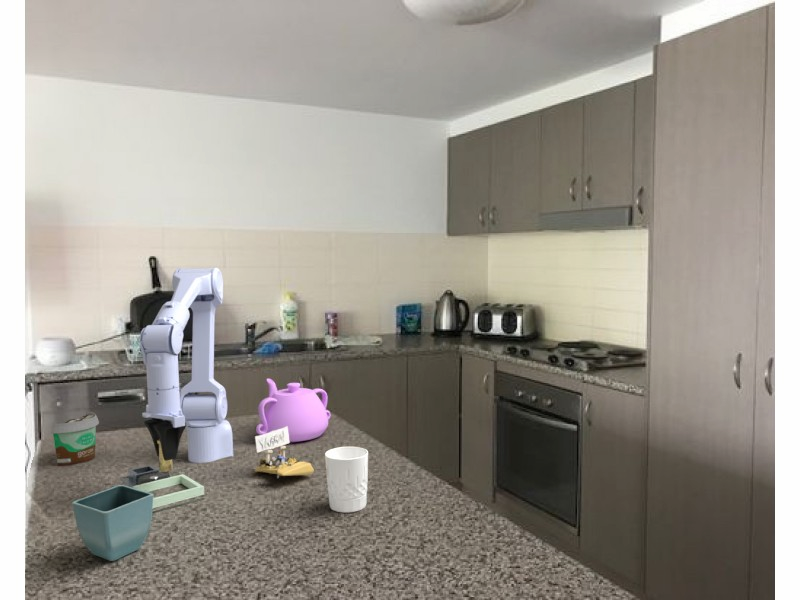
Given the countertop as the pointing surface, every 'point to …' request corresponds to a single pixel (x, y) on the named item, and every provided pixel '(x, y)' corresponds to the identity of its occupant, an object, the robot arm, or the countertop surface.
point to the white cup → (347, 478)
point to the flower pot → (114, 520)
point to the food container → (75, 440)
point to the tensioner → (144, 475)
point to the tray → (193, 491)
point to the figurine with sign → (279, 455)
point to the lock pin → (164, 465)
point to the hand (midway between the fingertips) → (166, 457)
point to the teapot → (294, 412)
